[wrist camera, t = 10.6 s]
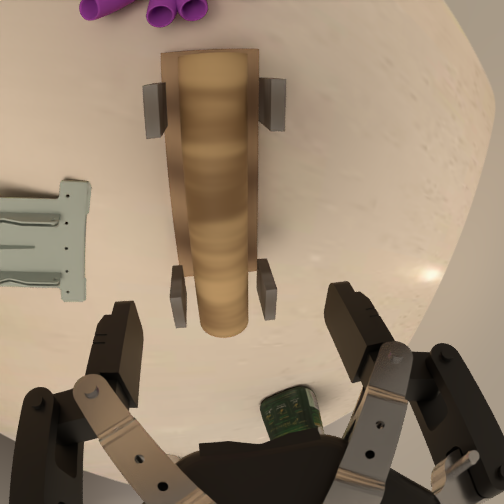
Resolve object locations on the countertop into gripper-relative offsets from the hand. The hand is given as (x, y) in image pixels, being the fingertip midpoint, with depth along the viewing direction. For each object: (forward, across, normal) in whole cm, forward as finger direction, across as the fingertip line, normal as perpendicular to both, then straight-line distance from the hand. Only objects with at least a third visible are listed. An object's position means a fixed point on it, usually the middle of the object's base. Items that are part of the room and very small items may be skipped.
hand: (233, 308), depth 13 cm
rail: (+12, 0, 0) cm, 12 cm away
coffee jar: (+18, -10, +40) cm, 45 cm away
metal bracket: (+20, +20, +6) cm, 29 cm away
